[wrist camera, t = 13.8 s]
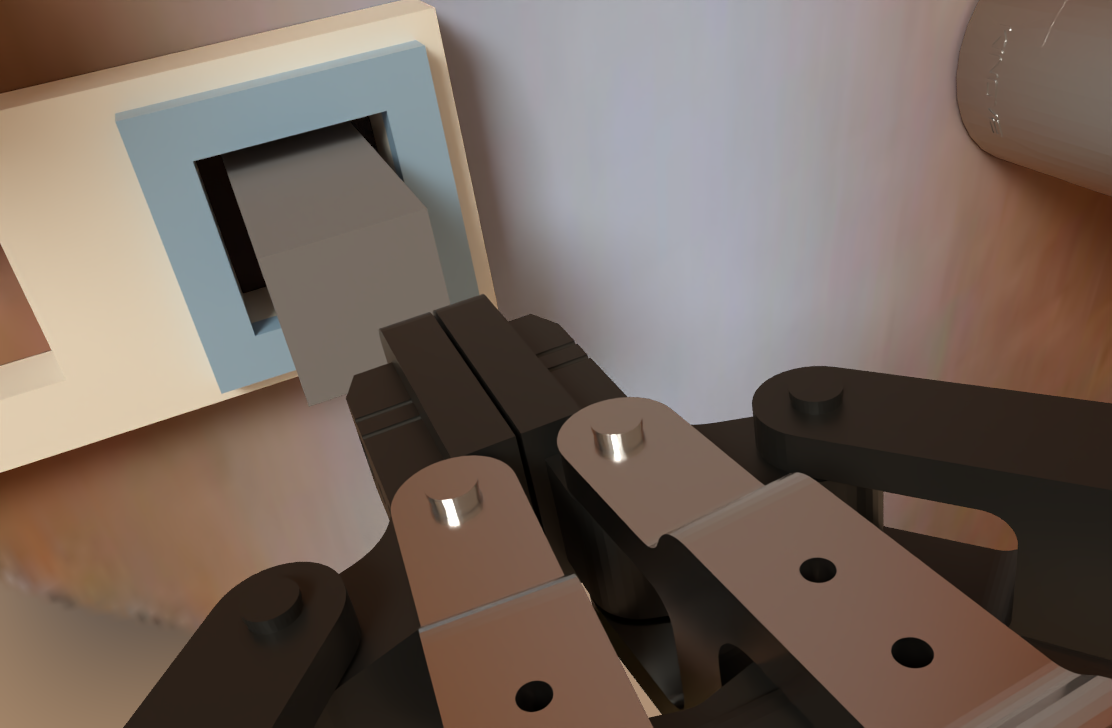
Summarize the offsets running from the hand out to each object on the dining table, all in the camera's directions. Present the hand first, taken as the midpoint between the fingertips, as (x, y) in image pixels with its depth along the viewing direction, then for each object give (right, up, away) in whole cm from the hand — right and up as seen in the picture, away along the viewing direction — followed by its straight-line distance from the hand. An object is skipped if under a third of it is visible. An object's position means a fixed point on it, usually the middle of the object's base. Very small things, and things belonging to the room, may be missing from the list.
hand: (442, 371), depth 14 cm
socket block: (-12, +4, +17) cm, 21 cm away
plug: (-7, +6, +18) cm, 20 cm away
